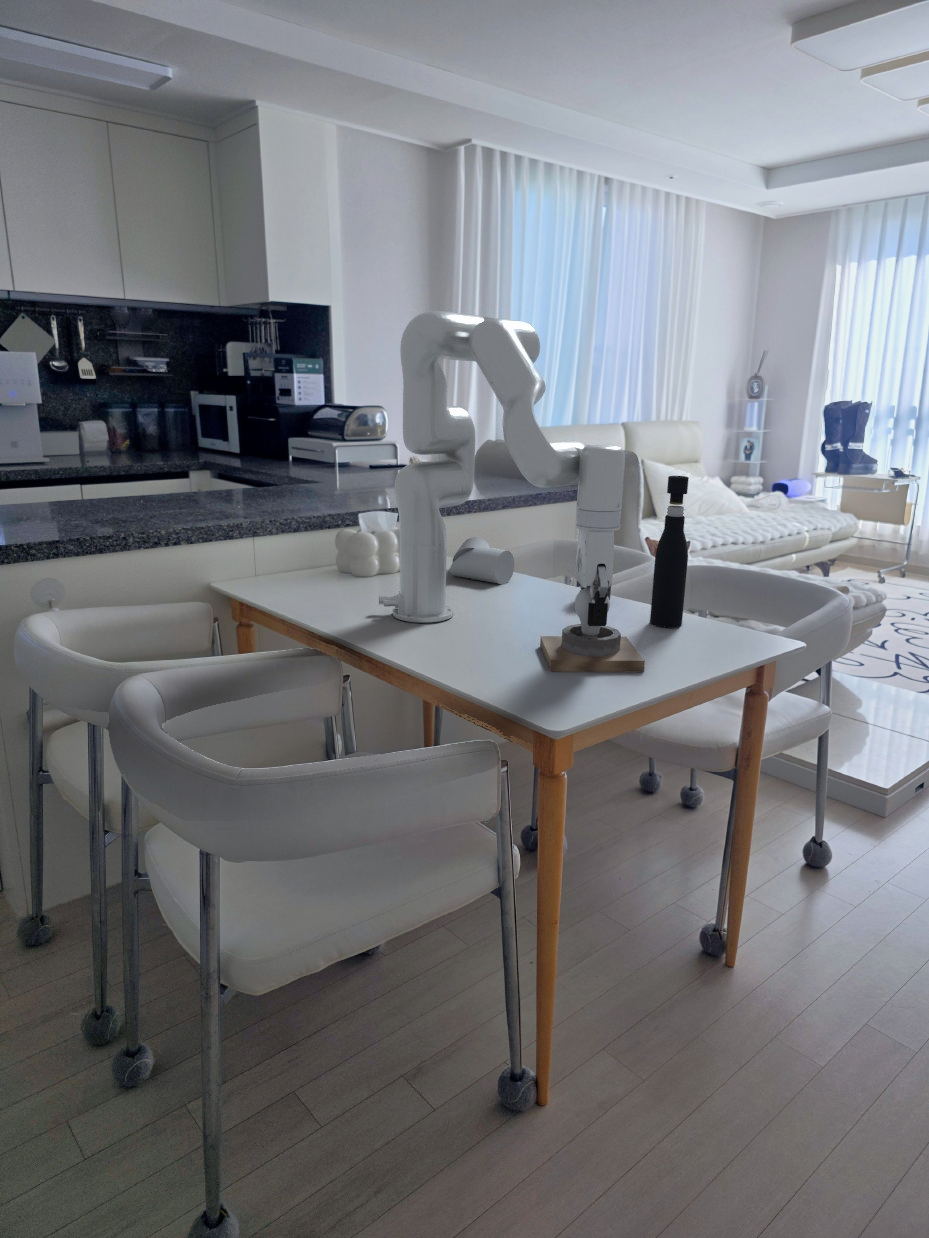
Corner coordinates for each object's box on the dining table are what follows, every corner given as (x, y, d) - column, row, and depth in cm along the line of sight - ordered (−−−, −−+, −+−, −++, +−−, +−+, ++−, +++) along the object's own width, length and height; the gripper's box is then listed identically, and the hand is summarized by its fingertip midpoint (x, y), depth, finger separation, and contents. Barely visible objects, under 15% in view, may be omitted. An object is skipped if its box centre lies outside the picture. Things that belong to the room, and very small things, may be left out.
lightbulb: (606, 654, 143) (610, 592, 140) (570, 651, 144) (574, 590, 141) (607, 643, 149) (611, 584, 146) (573, 641, 150) (576, 582, 147)
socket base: (550, 671, 139) (551, 643, 138) (540, 646, 153) (541, 620, 152) (643, 671, 140) (646, 643, 139) (625, 646, 154) (627, 621, 152)
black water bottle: (675, 629, 165) (689, 479, 157) (645, 624, 168) (657, 476, 160) (685, 622, 170) (699, 476, 162) (655, 617, 174) (667, 474, 166)
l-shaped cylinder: (425, 571, 208) (489, 583, 197) (431, 530, 207) (496, 539, 196) (465, 575, 223) (528, 586, 211) (471, 536, 222) (534, 546, 210)
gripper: (568, 511, 148) (563, 606, 153) (585, 527, 131) (579, 633, 136) (609, 512, 148) (603, 606, 153) (632, 528, 132) (624, 633, 136)
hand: (592, 618), depth 145 cm, fingers open, 8 cm apart
